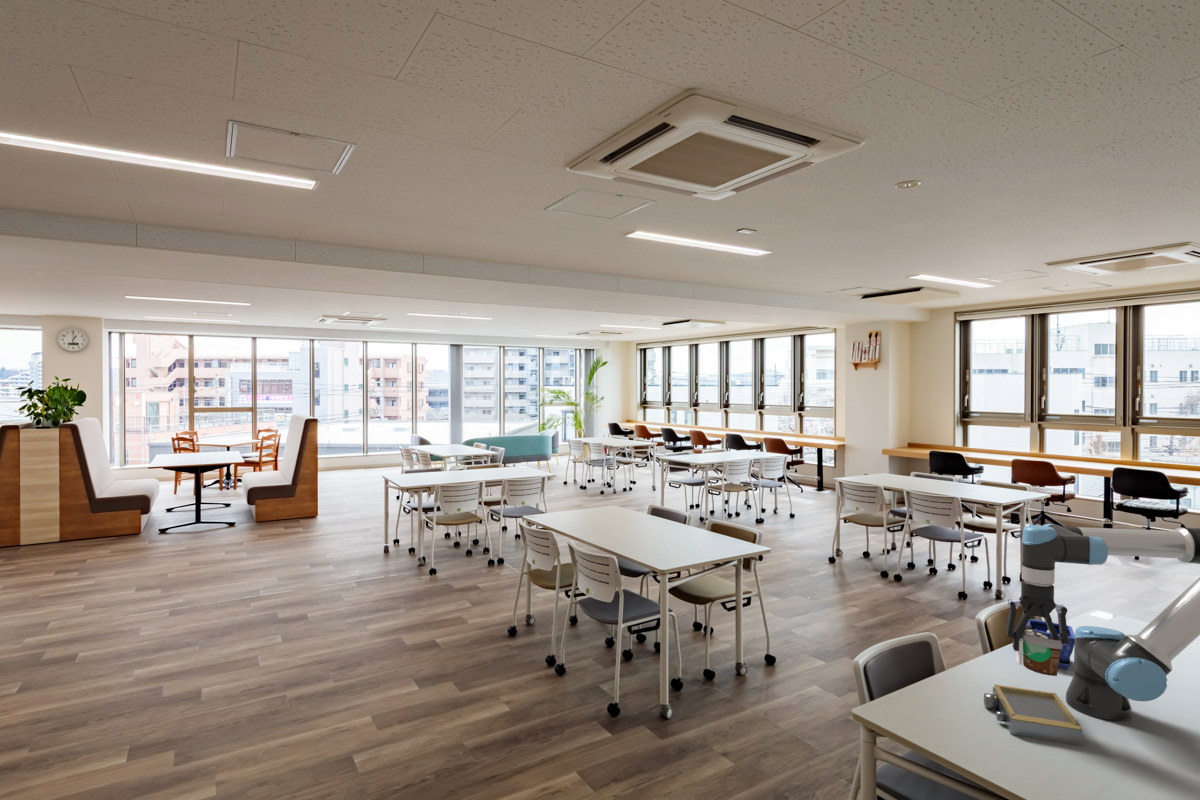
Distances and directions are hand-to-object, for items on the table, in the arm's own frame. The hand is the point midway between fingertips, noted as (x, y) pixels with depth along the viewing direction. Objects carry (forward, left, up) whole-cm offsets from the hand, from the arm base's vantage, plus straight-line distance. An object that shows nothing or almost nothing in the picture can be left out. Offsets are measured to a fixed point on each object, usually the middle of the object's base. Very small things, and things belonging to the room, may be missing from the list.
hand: (1035, 664), depth 179 cm
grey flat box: (+2, 0, -16) cm, 16 cm away
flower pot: (-17, -49, -16) cm, 54 cm away
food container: (0, 0, -1) cm, 1 cm away
